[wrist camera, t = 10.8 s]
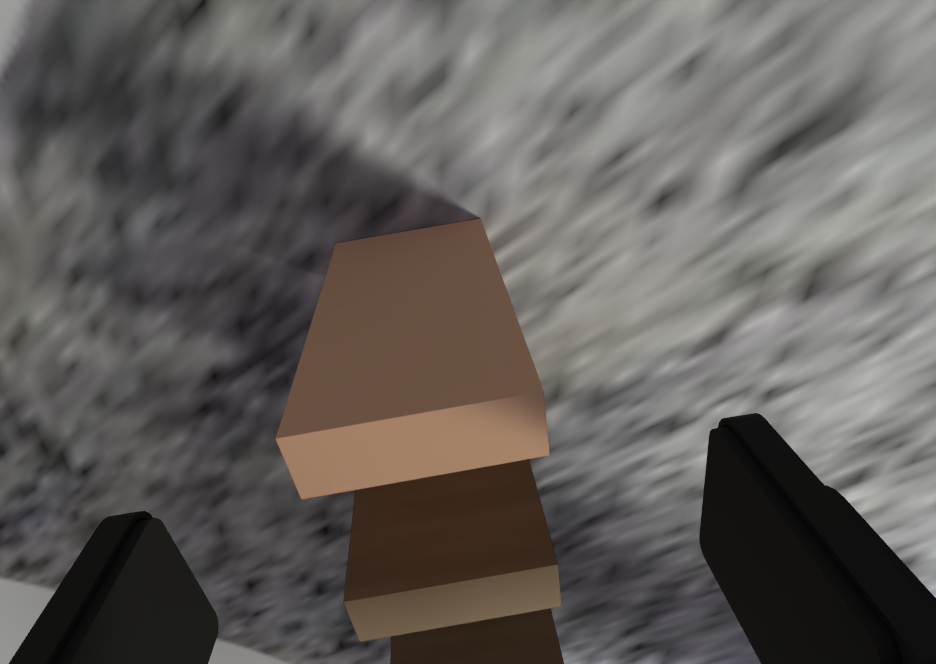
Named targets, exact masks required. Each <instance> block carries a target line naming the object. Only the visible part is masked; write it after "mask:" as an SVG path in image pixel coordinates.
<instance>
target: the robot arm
mask: <svg viewBox="0 0 936 664" xmlns="http://www.w3.org/2000/svg"><path fill="white" fill-rule="evenodd" d="M700 546H701V550H702V553H703V555H704V558H705V560H706V562H707V564H708V565H709V567H710V569H711V571H712V573H713V575H714V577H715V578H716V580H717V582H718V584H719V586H720V588H721V590H722V591H723V593H724V595H725V597H726V599H727V601H728V603H729V604H730V606H731V608H732V610H733V612H734V614H735V615H736V617H737V619H738V621H739V623H740V625H741V627H742V628H743V630H744V632H745V634H746V636H747V638H748V640H749V641H750V643H751V645H752V647H753V649H754V651H755V653H756V654H757V656H758V658H759V660H760V662H761V664H936V598H935V597H934V596H933V595H932V594H931V593H930V591H929V590H928V589H927V588H926V587H925V586H924V585H923V584H922V583H921V582H920V580H919V579H918V578H917V577H916V576H915V575H914V574H913V573H912V572H911V571H910V569H909V568H908V567H907V566H906V565H905V564H904V563H903V562H902V561H901V560H900V558H899V557H898V556H897V555H896V554H895V553H894V552H893V551H892V550H891V549H890V547H889V546H888V545H887V544H886V543H885V542H884V541H883V540H882V539H881V538H880V536H879V535H878V534H877V533H876V532H875V531H874V530H873V529H872V528H871V527H870V525H869V524H868V523H867V522H866V521H865V520H864V519H863V518H862V517H861V515H860V514H859V513H858V512H857V511H856V510H855V509H854V508H853V507H852V506H851V504H850V503H849V502H848V501H847V500H846V499H845V498H844V497H843V496H842V495H841V494H840V493H839V492H837V491H836V490H835V489H833V488H831V487H829V486H824V484H823V483H822V482H821V481H820V480H819V479H818V478H817V477H816V475H815V474H814V473H813V472H812V471H811V470H810V469H809V468H808V466H807V465H806V464H805V463H804V462H803V461H802V460H801V459H800V457H799V456H798V455H797V454H796V453H795V452H794V451H793V450H792V448H791V447H790V446H789V445H788V444H787V443H786V442H785V441H784V439H783V438H782V437H781V436H780V435H779V434H778V433H777V432H776V430H775V429H774V428H773V427H772V426H771V425H770V424H769V423H768V421H767V420H766V419H765V418H764V417H763V416H761V415H760V414H757V413H754V414H748V415H741V416H735V417H729V418H724V419H721V421H720V422H719V425H718V428H716V429H712V430H711V431H710V435H709V443H708V454H707V464H706V474H705V484H704V495H703V505H702V515H701V525H700ZM217 634H218V618H217V615H216V613H215V611H214V609H213V608H212V606H211V604H210V602H209V601H208V599H207V597H206V596H205V594H204V592H203V590H202V589H201V587H200V585H199V584H198V582H197V580H196V579H195V577H194V575H193V573H192V572H191V570H190V568H189V567H188V565H187V563H186V561H185V560H184V558H183V556H182V555H181V553H180V551H179V550H178V548H177V546H176V544H175V543H174V541H173V539H172V538H171V536H170V534H169V532H168V531H167V529H166V527H165V526H164V524H163V522H162V521H161V520H160V519H158V518H153V517H152V516H151V514H150V513H148V512H146V511H140V512H134V513H128V514H121V515H115V516H109V517H107V518H105V519H104V520H103V521H102V522H101V523H100V524H99V525H98V527H97V529H96V530H95V532H94V533H93V535H92V536H91V538H90V539H89V541H88V542H87V544H86V546H85V547H84V549H83V550H82V552H81V553H80V555H79V556H78V558H77V559H76V561H75V562H74V564H73V566H72V567H71V569H70V570H69V572H68V573H67V575H66V576H65V578H64V579H63V581H62V582H61V584H60V586H59V587H58V589H57V590H56V592H55V593H54V595H53V596H52V598H51V600H50V601H49V603H48V604H47V606H46V607H45V609H44V610H43V612H42V613H41V615H40V616H39V618H38V619H37V621H36V623H35V624H34V626H33V627H32V629H31V630H30V632H29V633H28V635H27V637H26V638H25V640H24V641H23V643H22V644H21V646H20V647H19V649H18V651H17V652H16V653H15V655H14V656H13V658H12V660H11V661H10V663H9V664H208V662H209V659H210V656H211V653H212V650H213V647H214V644H215V641H216V638H217Z"/></svg>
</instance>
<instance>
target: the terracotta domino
mask: <svg viewBox="0 0 936 664" xmlns="http://www.w3.org/2000/svg"><path fill="white" fill-rule="evenodd" d="M276 441H277V444H278V446H279V448H280V451H281V453H282V455H283V458H284V460H285V462H286V465H287V467H288V469H289V472H290V474H291V476H292V479H293V481H294V483H295V486H296V488H297V490H298V493H299V495H300V497H301V500H302V499H307V498H313V497H318V496H324V495H330V494H335V493H341V492H346V491H352V490H358V489H363V488H369V487H375V486H380V485H386V484H391V483H397V482H403V481H408V480H414V479H419V478H425V477H431V476H436V475H442V474H448V473H453V472H459V471H464V470H470V469H476V468H481V467H487V466H492V465H498V464H504V463H509V462H515V461H521V460H526V459H532V458H537V457H543V456H549V445H548V434H547V423H546V412H545V401H544V391H543V388H542V386H541V383H540V380H539V377H538V375H537V372H536V369H535V367H534V364H533V361H532V358H531V356H530V353H529V350H528V347H527V345H526V342H525V339H524V336H523V334H522V331H521V328H520V325H519V323H518V320H517V317H516V314H515V312H514V309H513V306H512V303H511V301H510V298H509V295H508V293H507V290H506V287H505V284H504V282H503V279H502V276H501V273H500V271H499V268H498V265H497V262H496V260H495V257H494V254H493V251H492V249H491V246H490V243H489V240H488V238H487V235H486V232H485V229H484V227H483V224H482V221H481V218H480V219H474V220H468V221H462V222H457V223H451V224H445V225H439V226H433V227H428V228H422V229H416V230H410V231H405V232H399V233H393V234H387V235H381V236H376V237H370V238H364V239H358V240H352V241H347V242H341V243H336V244H335V247H334V251H333V254H332V257H331V260H330V264H329V267H328V270H327V273H326V277H325V280H324V283H323V286H322V290H321V293H320V296H319V299H318V303H317V306H316V309H315V312H314V316H313V319H312V322H311V325H310V328H309V332H308V335H307V338H306V341H305V345H304V348H303V351H302V354H301V358H300V361H299V364H298V367H297V371H296V374H295V377H294V380H293V384H292V387H291V390H290V393H289V397H288V400H287V403H286V406H285V410H284V413H283V416H282V419H281V423H280V426H279V429H278V432H277V436H276Z"/></svg>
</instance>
